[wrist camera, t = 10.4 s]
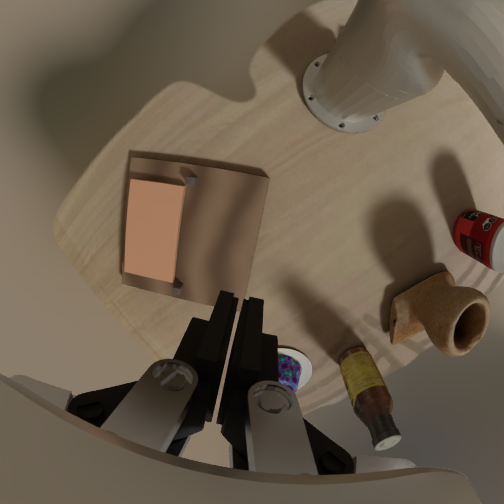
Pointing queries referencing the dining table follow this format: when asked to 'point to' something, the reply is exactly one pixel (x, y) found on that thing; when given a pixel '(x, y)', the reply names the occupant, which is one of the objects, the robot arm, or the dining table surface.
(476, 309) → the clay platform pipe
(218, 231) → the board
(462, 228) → the canned food
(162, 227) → the tile
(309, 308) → the dining table surface
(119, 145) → the dining table surface
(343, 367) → the sauce bottle
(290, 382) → the patterned brimmed hat
